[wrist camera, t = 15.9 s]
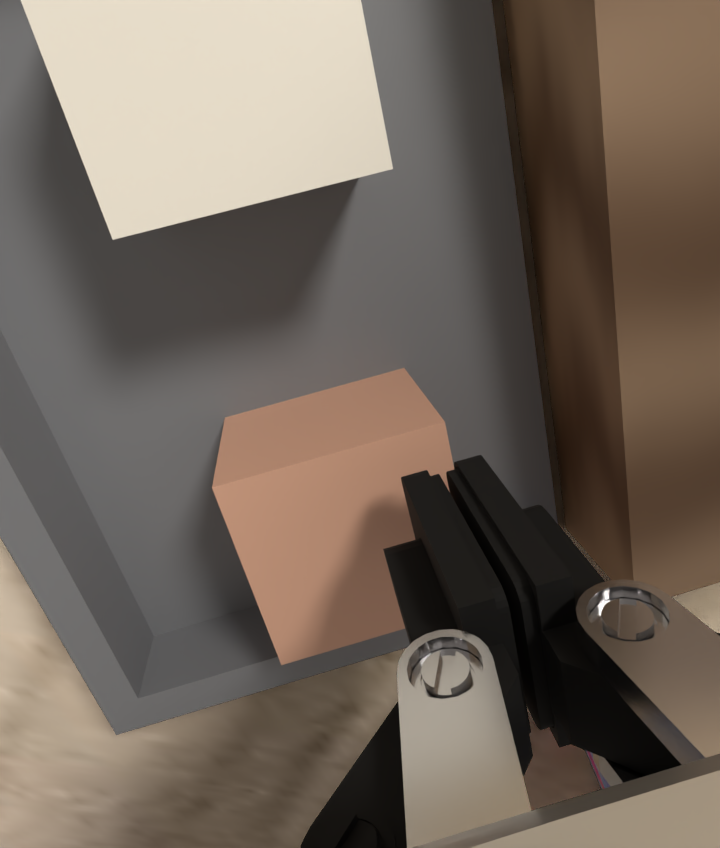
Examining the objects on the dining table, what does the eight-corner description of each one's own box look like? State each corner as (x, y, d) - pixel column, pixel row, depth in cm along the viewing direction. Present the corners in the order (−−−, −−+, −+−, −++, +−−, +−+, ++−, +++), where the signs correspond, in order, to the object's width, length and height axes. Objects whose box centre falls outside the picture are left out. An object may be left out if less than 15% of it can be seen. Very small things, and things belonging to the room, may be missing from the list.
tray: (-273, -130, 11) (-452, -234, 8) (442, -296, 12) (496, -447, 9) (138, 655, 19) (116, 735, 16) (551, 532, 19) (598, 589, 17)
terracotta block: (444, 421, 12) (403, 367, 16) (211, 487, 12) (224, 417, 16) (481, 605, 14) (437, 519, 18) (281, 665, 14) (278, 566, 18)
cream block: (321, -206, 8) (305, -86, 12) (-29, -129, 8) (63, -30, 12) (393, 168, 10) (360, 173, 14) (112, 240, 10) (154, 225, 14)
